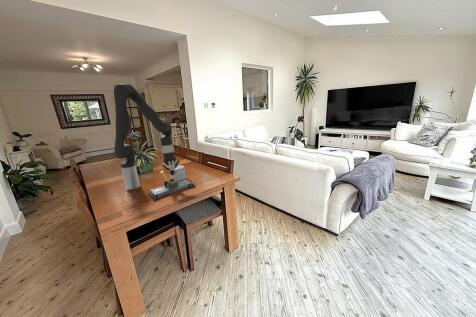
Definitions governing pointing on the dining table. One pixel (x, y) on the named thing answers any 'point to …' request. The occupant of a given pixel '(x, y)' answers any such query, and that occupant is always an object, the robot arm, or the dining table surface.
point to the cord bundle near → (153, 196)
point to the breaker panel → (165, 189)
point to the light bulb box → (178, 173)
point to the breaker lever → (165, 176)
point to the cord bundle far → (191, 185)
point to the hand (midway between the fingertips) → (172, 174)
